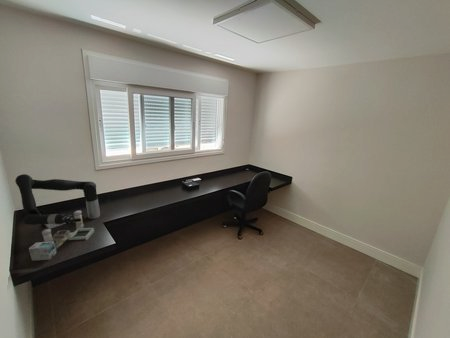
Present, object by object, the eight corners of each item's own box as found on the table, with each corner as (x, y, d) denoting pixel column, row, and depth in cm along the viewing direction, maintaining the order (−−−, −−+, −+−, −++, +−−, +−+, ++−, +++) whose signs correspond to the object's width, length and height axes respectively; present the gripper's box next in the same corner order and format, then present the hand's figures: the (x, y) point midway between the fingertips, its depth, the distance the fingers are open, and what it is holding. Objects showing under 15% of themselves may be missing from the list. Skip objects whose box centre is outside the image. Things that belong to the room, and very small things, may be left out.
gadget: (72, 225, 168) (72, 221, 167) (50, 233, 156) (49, 229, 155) (63, 216, 181) (62, 213, 180) (42, 223, 169) (41, 219, 168)
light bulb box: (57, 254, 134) (54, 240, 131) (50, 261, 127) (47, 247, 124) (39, 255, 132) (35, 241, 129) (31, 262, 125) (27, 248, 122)
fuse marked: (78, 225, 152) (75, 210, 149) (84, 225, 153) (82, 210, 150) (74, 228, 148) (72, 213, 144) (81, 228, 149) (79, 213, 145)
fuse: (48, 244, 140) (44, 229, 136) (55, 244, 141) (52, 228, 137) (44, 249, 136) (39, 232, 132) (51, 248, 136) (47, 232, 133)
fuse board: (57, 234, 154) (56, 230, 153) (73, 234, 156) (73, 229, 154) (36, 253, 134) (35, 248, 133) (56, 251, 136) (55, 247, 135)
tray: (78, 232, 158) (77, 228, 157) (94, 231, 160) (93, 227, 159) (69, 241, 146) (68, 237, 145) (86, 240, 148) (85, 236, 147)
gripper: (49, 219, 139) (76, 218, 141) (62, 210, 152) (86, 209, 155) (51, 228, 141) (78, 227, 143) (64, 218, 154) (88, 217, 157)
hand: (82, 218), depth 149 cm, fingers closed on fuse marked, 4 cm apart
